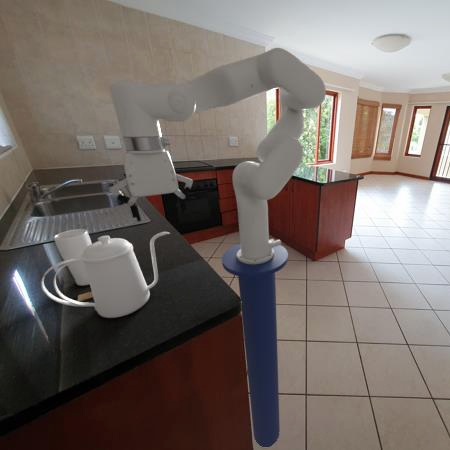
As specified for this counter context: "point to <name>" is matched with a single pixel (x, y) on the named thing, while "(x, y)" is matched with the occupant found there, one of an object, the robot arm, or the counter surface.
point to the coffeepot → (111, 277)
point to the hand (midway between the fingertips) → (161, 215)
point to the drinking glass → (74, 252)
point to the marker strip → (85, 296)
